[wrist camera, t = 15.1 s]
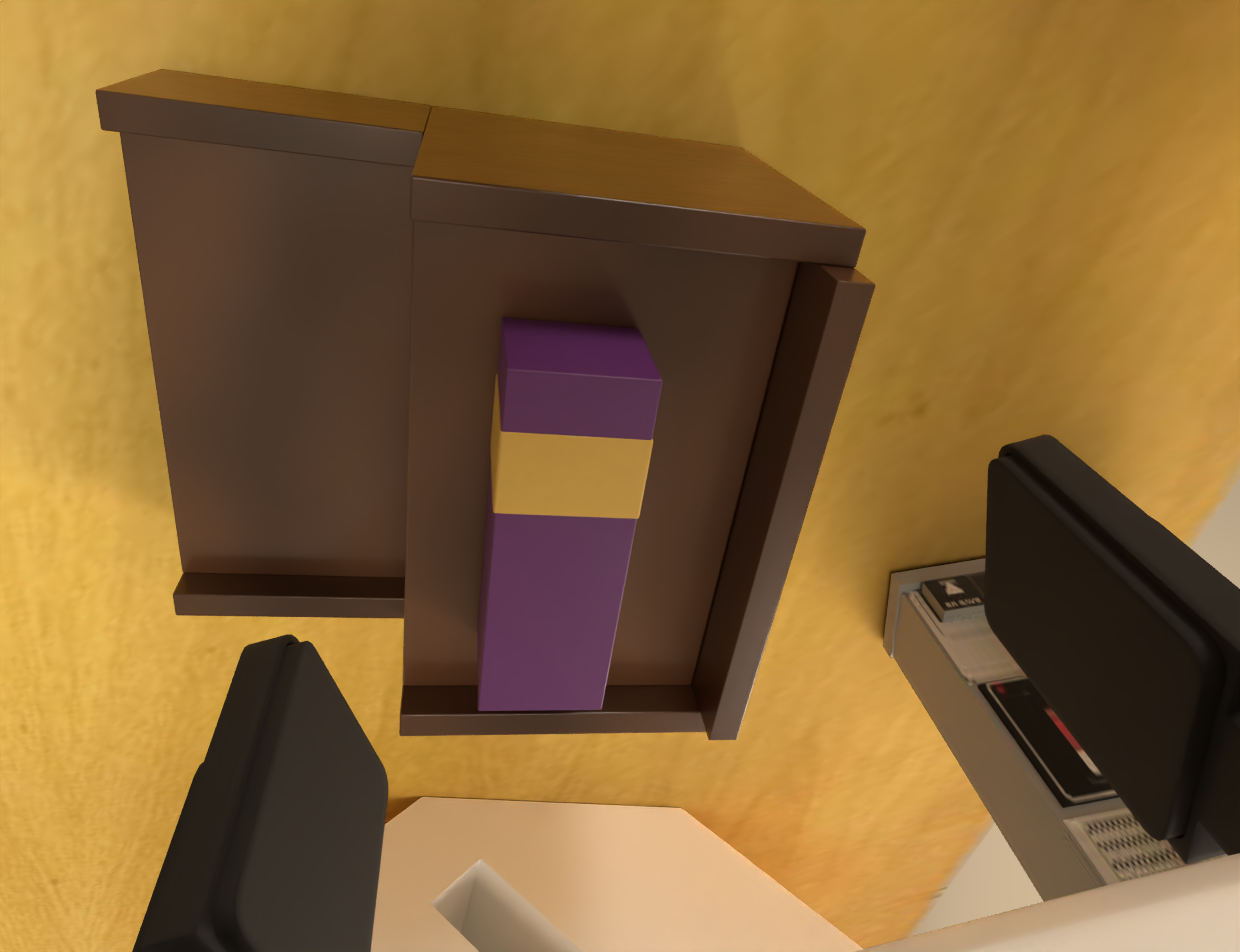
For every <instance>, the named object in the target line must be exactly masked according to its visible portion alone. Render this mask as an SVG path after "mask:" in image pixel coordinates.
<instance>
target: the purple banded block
mask: <svg viewBox="0 0 1240 952" xmlns="http://www.w3.org/2000/svg"><path fill="white" fill-rule="evenodd" d="M662 383H663V380H662V378H661V376H660V374H659V372H658V369H657V367H656V365H655V363H654V361H653V358H652V356H651V354H650V352H649V350H648V347H647V345H646V343H645V341H644V339H643V336H642V334H641V332H640V330H639V329H635V328H623V327H612V326H600V325H588V324H576V323H565V322H553V321H541V320H530V319H518V318H506V317H503V318H502V324H501V337H500V350H499V362H498V373H497V374H496V380H495V393H494V406H493V419H492V433H491V446H490V447H491V465H490V478H489V491H488V504H487V517H486V530H485V543H484V555H483V568H482V581H481V594H480V607H479V620H478V633H477V649H478V710H479V711H518V710H601V709H602V704H603V699H604V694H605V688H606V683H607V678H608V672H609V667H610V662H611V656H612V651H613V646H614V640H615V635H616V630H617V624H618V619H619V614H620V608H621V603H622V597H623V592H624V587H625V581H626V576H627V571H628V565H629V560H630V555H631V549H632V544H633V539H634V533H635V528H636V523H637V518H639V516H640V511H641V505H642V500H643V495H644V489H645V484H646V479H647V473H648V468H649V463H650V457H651V452H652V447H653V439H652V437H653V432H654V426H655V421H656V415H657V410H658V405H659V399H660V394H661V389H662Z"/></svg>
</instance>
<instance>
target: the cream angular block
mask: <svg viewBox="0 0 1240 952" xmlns="http://www.w3.org/2000/svg"><path fill="white" fill-rule="evenodd" d="M862 949H863V948H862V947H860V946H859V945H858V944H857V943H855V942H854V941H853V940H851V939H850V938H849V937H847V936H846V935H845V934H844V933H842V932H841V931H840V930H838V929H837V928H836V927H835V926H833V925H832V924H831V923H829V922H828V921H827V920H826V919H824V918H823V917H822V916H820V915H819V914H818V913H816V912H815V911H814V910H813V909H811V908H810V907H809V906H807V905H806V904H805V903H804V902H802V901H801V900H800V899H798V898H797V897H796V896H795V895H793V894H792V893H791V892H789V891H788V890H787V889H785V888H784V887H783V886H782V885H780V884H779V883H778V882H776V881H775V880H774V879H773V878H771V877H770V876H769V875H767V874H766V873H765V872H764V871H762V870H761V869H760V868H758V867H757V866H756V865H754V864H753V863H752V862H751V861H749V860H748V859H747V858H745V857H744V856H743V855H742V854H740V853H739V852H738V851H736V850H735V849H734V848H733V847H731V846H730V845H729V844H727V843H726V842H725V841H723V840H722V839H721V838H720V837H718V836H717V835H716V834H714V833H713V832H712V831H711V830H709V829H708V828H707V827H705V826H704V825H703V824H702V823H700V822H699V821H698V820H696V819H695V818H694V817H693V816H691V815H690V814H689V813H687V812H686V811H685V810H683V809H682V808H668V807H645V806H622V805H599V804H576V803H553V802H530V801H507V800H484V799H461V798H438V797H421V798H420V799H418V800H417V801H416V802H414V803H413V804H412V805H410V806H409V807H408V808H406V809H405V810H404V811H402V812H401V813H400V814H398V815H397V816H396V817H394V818H393V819H392V820H390V821H389V822H388V823H386V824H385V827H384V836H383V845H382V854H381V863H380V872H379V881H378V890H377V899H376V908H375V917H374V926H373V935H372V944H371V952H854V951H858V950H862Z"/></svg>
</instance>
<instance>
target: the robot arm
mask: <svg viewBox="0 0 1240 952" xmlns="http://www.w3.org/2000/svg"><path fill="white" fill-rule="evenodd" d="M984 611H985V615H986V618H987V621H988V624H989V626H990V628H991V630H992V631H993V633H994V634H995V635H996V637H997V638H998V639H999V641H1000V642H1001V643H1002V645H1003V646H1004V647H1005V649H1006V650H1007V651H1008V652H1009V654H1010V655H1011V656H1012V658H1013V659H1014V660H1015V662H1016V663H1017V664H1018V666H1019V667H1020V668H1021V669H1022V671H1023V672H1024V673H1025V675H1026V676H1027V677H1028V679H1029V680H1030V681H1031V683H1032V684H1033V685H1034V686H1035V688H1036V689H1037V690H1038V692H1039V693H1040V694H1041V696H1042V697H1043V698H1044V699H1045V701H1046V702H1047V703H1048V705H1049V706H1050V707H1051V709H1052V710H1053V711H1054V713H1055V714H1056V715H1057V716H1058V718H1059V719H1060V720H1061V722H1062V723H1063V724H1064V726H1065V727H1066V728H1067V730H1068V731H1069V732H1070V733H1071V735H1072V736H1073V737H1074V739H1075V740H1076V741H1077V743H1078V744H1079V745H1080V747H1081V748H1082V749H1083V750H1084V752H1085V753H1086V754H1087V756H1088V757H1089V758H1090V760H1091V761H1092V762H1093V763H1094V765H1095V766H1096V767H1097V769H1098V770H1099V771H1100V773H1101V774H1102V775H1103V777H1104V778H1105V779H1106V780H1107V782H1108V783H1109V784H1110V786H1111V787H1112V788H1113V790H1114V791H1115V792H1116V794H1117V795H1118V796H1119V797H1120V799H1121V800H1122V801H1123V803H1124V804H1125V805H1126V807H1127V808H1128V809H1129V811H1130V812H1131V813H1132V814H1133V816H1134V817H1135V818H1136V820H1137V821H1138V822H1139V824H1140V825H1141V826H1142V827H1143V829H1144V830H1145V831H1146V832H1147V833H1148V834H1149V835H1150V836H1151V837H1152V838H1154V839H1156V840H1158V841H1161V840H1165V839H1166V840H1167V841H1168V842H1169V844H1170V845H1171V846H1172V847H1173V849H1174V850H1175V851H1176V853H1177V854H1178V855H1179V856H1180V858H1181V859H1182V860H1183V862H1184V863H1185V864H1186V865H1187V864H1191V863H1195V862H1199V861H1202V860H1206V859H1210V858H1214V857H1217V856H1221V855H1225V854H1227V855H1228V856H1226V857H1222V858H1218V859H1214V860H1210V861H1205V862H1201V863H1197V864H1193V865H1189V866H1185V867H1181V868H1176V869H1172V870H1168V871H1164V872H1160V873H1156V874H1152V875H1148V876H1143V877H1139V878H1135V879H1131V880H1127V881H1123V882H1119V883H1114V884H1110V885H1106V886H1103V887H1099V888H1095V889H1091V890H1087V891H1083V892H1080V893H1076V894H1072V895H1068V896H1064V897H1060V898H1057V899H1053V900H1049V901H1045V902H1041V903H1037V904H1034V905H1030V906H1026V907H1022V908H1019V909H1015V910H1011V911H1007V912H1003V913H999V914H995V915H991V916H988V917H984V918H980V919H976V920H972V921H968V922H965V923H961V924H957V925H953V926H950V927H946V928H942V929H938V930H934V931H930V932H926V933H923V934H919V935H915V936H911V937H907V938H903V939H900V940H896V941H892V942H888V943H885V944H881V945H877V946H873V947H870V948H866V949H862V950H858V951H854V952H1240V589H1239V588H1238V587H1237V586H1235V585H1234V584H1233V583H1232V582H1230V581H1229V580H1228V579H1227V578H1226V577H1224V576H1223V575H1222V574H1221V573H1219V572H1218V571H1217V570H1216V569H1215V568H1213V567H1212V566H1211V565H1210V564H1209V563H1207V562H1206V561H1205V560H1204V559H1203V558H1201V557H1200V556H1199V555H1198V554H1197V553H1195V552H1194V551H1193V550H1192V549H1191V548H1189V547H1188V546H1187V545H1186V544H1184V543H1183V542H1182V541H1181V540H1180V539H1178V538H1177V537H1176V536H1175V535H1174V534H1172V533H1171V532H1170V531H1169V530H1167V529H1166V528H1165V527H1164V526H1163V525H1161V524H1160V523H1159V522H1158V521H1156V520H1155V519H1153V518H1151V517H1150V516H1149V515H1147V514H1146V513H1145V512H1144V511H1143V510H1141V509H1140V508H1139V507H1138V506H1136V505H1135V504H1134V503H1133V502H1132V501H1130V500H1129V499H1128V498H1127V497H1126V496H1124V495H1123V494H1122V493H1121V492H1120V491H1118V490H1117V489H1116V488H1115V487H1113V486H1112V485H1111V484H1110V483H1109V482H1107V481H1106V480H1105V479H1104V478H1103V477H1101V476H1100V475H1099V474H1098V473H1097V472H1095V471H1094V470H1093V469H1092V468H1091V467H1089V466H1088V465H1087V464H1086V463H1084V462H1083V461H1082V460H1081V459H1080V458H1078V457H1077V456H1076V455H1075V454H1074V453H1072V452H1071V451H1070V450H1069V449H1068V448H1066V447H1065V446H1064V445H1063V444H1062V443H1060V442H1059V441H1058V440H1057V439H1055V438H1054V437H1052V436H1050V435H1041V436H1038V437H1034V438H1030V439H1026V440H1023V441H1019V442H1015V443H1011V444H1007V445H1005V446H1003V447H1002V448H1001V450H1000V452H999V457H998V458H997V459H993V460H992V461H991V462H990V464H989V468H988V490H987V523H986V556H985V589H984ZM387 800H388V780H387V775H386V771H385V768H384V766H383V764H382V762H381V761H380V759H379V757H378V755H377V754H376V752H375V750H374V749H373V747H372V745H371V743H370V742H369V740H368V738H367V737H366V735H365V733H364V731H363V730H362V728H361V726H360V724H359V723H358V721H357V719H356V718H355V716H354V714H353V712H352V711H351V709H350V707H349V705H348V704H347V702H346V700H345V699H344V697H343V695H342V693H341V692H340V690H339V688H338V687H337V685H336V683H335V681H334V680H333V678H332V676H331V674H330V673H329V671H328V669H327V668H326V666H325V664H324V662H323V661H322V659H321V657H320V656H319V654H318V652H317V650H316V649H315V647H314V646H313V644H312V643H310V642H309V641H304V642H299V641H298V639H297V638H296V637H294V636H293V635H284V636H280V637H276V638H272V639H269V640H265V641H261V642H257V643H254V644H250V645H248V646H246V647H245V648H244V650H243V652H242V653H241V656H240V659H239V662H238V665H237V668H236V671H235V674H234V676H233V679H232V682H231V685H230V688H229V691H228V694H227V697H226V700H225V702H224V705H223V708H222V711H221V714H220V717H219V720H218V723H217V726H216V728H215V731H214V734H213V737H212V740H211V743H210V746H209V749H208V752H207V754H206V757H205V760H204V762H203V763H202V764H201V765H200V766H199V768H198V770H197V772H196V774H195V776H194V778H193V781H192V784H191V786H190V789H189V792H188V795H187V798H186V801H185V803H184V806H183V809H182V812H181V815H180V818H179V820H178V823H177V826H176V829H175V832H174V835H173V838H172V840H171V843H170V846H169V849H168V852H167V855H166V857H165V860H164V863H163V866H162V869H161V872H160V874H159V877H158V880H157V883H156V886H155V889H154V891H153V894H152V897H151V900H150V903H149V906H148V908H147V911H146V914H145V917H144V920H143V923H142V925H141V928H140V931H139V934H138V937H137V940H136V942H135V945H134V948H133V951H132V952H371V944H372V935H373V926H374V917H375V908H376V899H377V890H378V881H379V872H380V863H381V854H382V845H383V836H384V827H385V818H386V809H387Z"/></svg>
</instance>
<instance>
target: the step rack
mask: <svg viewBox="0 0 1240 952" xmlns="http://www.w3.org/2000/svg"><path fill="white" fill-rule="evenodd" d="M96 98H97V104H98V111H99V117H100V124H101V129H102V130H105V131H114V132H120V137H121V144H122V151H123V158H124V165H125V172H126V179H127V186H128V193H129V200H130V207H131V214H132V221H133V228H134V235H135V242H136V249H137V256H138V263H139V270H140V277H141V284H142V291H143V298H144V305H145V312H146V319H147V326H148V333H149V340H150V347H151V354H152V361H153V368H154V375H155V382H156V389H157V396H158V403H159V410H160V417H161V424H162V431H163V438H164V445H165V452H166V459H167V466H168V473H169V480H170V487H171V494H172V501H173V508H174V515H175V522H176V529H177V536H178V543H179V550H180V557H181V564H182V571H183V575H182V577H181V579H180V581H179V583H178V585H177V587H176V589H175V591H174V593H173V599H174V606H175V612H176V615H195V616H268V617H341V618H404V646H403V688H402V698H401V708H400V731H399V734H400V736H447V735H519V734H590V733H662V732H706V733H707V736H708V739H709V740H736V739H737V737H738V734H739V730H740V727H741V724H742V721H743V717H744V714H745V711H746V708H747V704H748V701H749V698H750V694H751V691H752V688H753V685H754V681H755V678H756V675H757V671H758V668H759V665H760V662H761V658H762V655H763V652H764V649H765V645H766V642H767V639H768V635H769V632H770V629H771V626H772V622H773V619H774V616H775V613H776V609H777V606H778V603H779V599H780V596H781V593H782V590H783V586H784V583H785V580H786V577H787V573H788V570H789V567H790V563H791V560H792V557H793V554H794V550H795V547H796V544H797V540H798V537H799V534H800V531H801V527H802V524H803V521H804V518H805V514H806V511H807V508H808V504H809V501H810V498H811V495H812V491H813V488H814V485H815V482H816V478H817V475H818V472H819V468H820V465H821V462H822V459H823V455H824V452H825V449H826V446H827V442H828V439H829V436H830V432H831V429H832V426H833V423H834V419H835V416H836V413H837V410H838V406H839V403H840V400H841V396H842V393H843V390H844V387H845V383H846V380H847V377H848V373H849V370H850V367H851V364H852V360H853V357H854V354H855V351H856V347H857V344H858V341H859V337H860V334H861V331H862V328H863V324H864V321H865V318H866V315H867V311H868V308H869V305H870V301H871V298H872V295H873V292H874V288H875V284H874V283H873V282H871V281H870V280H869V279H867V278H866V277H865V276H864V275H862V274H861V273H860V272H859V271H857V270H856V269H855V268H854V267H856V264H857V261H858V257H859V254H860V250H861V247H862V244H863V240H864V237H865V233H866V229H865V228H863V227H862V226H860V225H859V224H857V223H856V222H854V221H853V220H851V219H850V218H848V217H846V216H845V215H843V214H842V213H840V212H839V211H837V210H836V209H834V208H833V207H831V206H830V205H828V204H827V203H825V202H824V201H822V200H821V199H819V198H818V197H816V196H815V195H813V194H812V193H810V192H809V191H807V190H805V189H804V188H802V187H801V186H799V185H798V184H796V183H795V182H793V181H792V180H790V179H789V178H787V177H786V176H784V175H783V174H781V173H780V172H778V171H777V170H775V169H774V168H772V167H771V166H769V165H767V164H766V163H764V162H763V161H761V160H760V159H758V158H757V157H755V156H754V155H752V154H751V153H749V152H748V151H746V150H745V149H743V148H741V147H733V146H726V145H719V144H711V143H704V142H696V141H689V140H682V139H674V138H667V137H659V136H652V135H645V134H637V133H630V132H623V131H615V130H608V129H600V128H593V127H586V126H578V125H571V124H563V123H556V122H549V121H541V120H534V119H526V118H519V117H512V116H504V115H497V114H490V113H482V112H475V111H467V110H460V109H453V108H445V107H438V106H432V107H431V106H430V105H424V104H416V103H409V102H402V101H394V100H387V99H379V98H372V97H365V96H357V95H350V94H342V93H335V92H328V91H320V90H313V89H305V88H298V87H291V86H283V85H276V84H268V83H261V82H254V81H246V80H239V79H232V78H224V77H217V76H209V75H202V74H195V73H187V72H180V71H172V70H165V69H160V70H157V71H154V72H151V73H148V74H144V75H141V76H138V77H135V78H132V79H129V80H126V81H122V82H119V83H116V84H113V85H110V86H107V87H103V88H100V89H97V90H96ZM503 317H506V318H518V319H530V320H541V321H553V322H565V323H576V324H588V325H600V326H612V327H623V328H635V329H639V330H640V332H641V334H642V336H643V339H644V341H645V343H646V345H647V347H648V350H649V352H650V354H651V356H652V358H653V361H654V363H655V365H656V367H657V369H658V372H659V374H660V376H661V378H662V380H663V383H662V389H661V394H660V399H659V405H658V410H657V415H656V421H655V426H654V432H653V437H652V439H653V447H652V452H651V457H650V463H649V468H648V473H647V479H646V484H645V489H644V495H643V500H642V505H641V511H640V516H639V518H637V523H636V528H635V533H634V539H633V544H632V549H631V555H630V560H629V565H628V571H627V576H626V581H625V587H624V592H623V597H622V603H621V608H620V614H619V619H618V624H617V630H616V635H615V640H614V646H613V651H612V656H611V662H610V667H609V672H608V678H607V683H606V688H605V694H604V699H603V704H602V709H601V710H518V711H479V710H478V649H477V633H478V620H479V607H480V594H481V581H482V568H483V555H484V543H485V530H486V517H487V504H488V491H489V478H490V465H491V447H490V446H491V433H492V419H493V406H494V393H495V380H496V374H497V373H498V362H499V350H500V337H501V324H502V318H503Z"/></svg>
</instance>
